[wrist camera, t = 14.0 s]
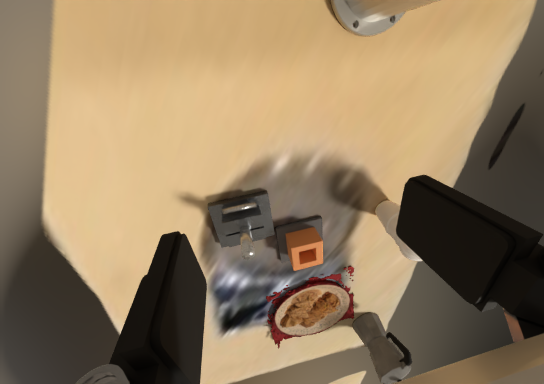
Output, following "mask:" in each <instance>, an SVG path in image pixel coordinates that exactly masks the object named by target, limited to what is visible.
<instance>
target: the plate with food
mask: <svg viewBox="0 0 544 384" xmlns="http://www.w3.org/2000/svg"><path fill="white" fill-rule="evenodd" d="M342 269H343V268H342ZM345 269H346V268H344V270H345ZM350 269H351V271H349V272H348V273H350V274H352V273H353V272H354V268H353V267H348V270H350ZM346 276H347V275H346ZM350 276H353V275H350ZM338 278H339V279H341V274H337V275H333V274H331V275H330V276H328V277H325V278H321V279H320V278H318V277H313V278H309V281H307V282H308V283H307V282H305V283H307V284H305V285H302V286H300V287H298V288H296V289H294V290H291V291H288V293H286V294H285V296H283V298H282V297H281V298H282V299H281V298H277V299H276V300H275V299H274V298H276V297H278V296H279V295H280V294H281V292H282V291H281V292H279V293H277V292H274V293H272V294H276V296H274V297H271V296H269V297H268V296H267V297H266V299H267V301H271V300H272V299H274V300H273V302H271V303H272V304H275V303H276V304H275V305H274V307H273V308H275V306H276V305H277V304H278V303H279V304H278V305H277V309H276V311H275V314H274V313H272V314H271V315H270V314H268V317H269V315H270V317H269V319H271V316H272V319H271V320H272V322H270V321H269V320H268V319H267V320H268V324H271V325H272V326H271V328H272V330H271V332H272V335H273V339H274V342H275V345H276V344H277V343H278V348H279V347H280V345H279V344H280V341H282V340H283V338H284V339H288V338H292V337H301V336H305V335H312V334H316V333H320V332H322V331H324V330H326V329H328V328H330V327H331V326H332V325H334V324H336V323H337V322H339V321H340V320H344V319H347V318H349V319H350V318H352V319H353V318H354V310H353V308H354V307H353V306H354V304H353V296H354V295H353V293H352V294H349V293H348V292H349V290H350V288H347V286H345V287H346V288H343V287H344V285H342V286H343V287H341V286H339V285H338V284H337V283H336V282H332V281H329V280H327V281H326V279H334V280H336V281H337V280H338ZM313 279H314V280H313ZM315 279H316V280H315ZM317 279H318V280H317ZM350 279H351V278H350ZM310 280H311V281H310ZM338 281H339V280H338ZM350 281H351V280H350ZM352 281H353V280H352ZM339 282H340V283H342V281H341V280H340V281H339ZM342 284H343V283H342ZM286 286H288V285H286ZM288 288H290V287H288ZM286 289H287V288H284V289H283V290H286ZM286 291H287V290H286ZM284 293H285V292H284ZM280 299H281V300H280ZM279 301H280V302H279ZM274 310H275V309H274ZM268 312H269V311H268Z"/></svg>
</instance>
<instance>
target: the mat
mask: <svg viewBox="0 0 544 384" xmlns="http://www.w3.org/2000/svg"><path fill="white" fill-rule="evenodd" d="M311 227H315V229H316V230H317V232H318V234H319V236H320V237H321V239H322V241H323V237H322V217H321V216H319V217H315V218H311V219H307V220H303V221H298V222H294V223H290V224H286V225H282V226H277V227H275V228H276V234H277V240H278V246H279V253H280V259H281V263H283V262H286V261H290V259H289V256H288V249H287V242H286V233H291V232H295V231H299V230H303V229H307V228H311Z"/></svg>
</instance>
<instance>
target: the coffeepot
mask: <svg viewBox="0 0 544 384" xmlns="http://www.w3.org/2000/svg"><path fill="white" fill-rule="evenodd" d="M353 329H354V330H355V332H356V333H357V334H358V336H359V337H360V339H361V340H362V341H363V343H364V344H365V346H366V347H368V349H369V351H370V356H371V359H372V361H373V364H374V366H375V369H376V372H377V374H378V377H379V379H380V382H381V383H383V384H390V383H393V382H400V381H402V380H401V379H402V378H403V377H405V376H406V375H407V374H408V373H409V372H410V370H411V366H410V364H411V363H412V359H411V354H410V352H409V350H408V349H407V348H406V347H405V346H404V345H403V344H402V343H401V342H400V341H399V340H397V338H396V337H395V336H394V335H392V333H390V332H389V333H387V334H386V332H385V330H384V327H383V325H382V323H381V321H380V319H379V316H378V315H377V314H375V313H366V314H363V315H361V316H360V317H358V318H357V319H356V320H355V321H354V323H353ZM388 338H391V339H392V341H393V342H394V343H395V344H396V345H397V346H398V347H399V349H400V350H401V351H402V352H403V354H404V357H403V356H402V355H401V353H400V352H399V351H398V350H397V348H396V347H395V346H394V345H393V343H390V342H389V340H388Z"/></svg>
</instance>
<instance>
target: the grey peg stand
mask: <svg viewBox="0 0 544 384" xmlns="http://www.w3.org/2000/svg"><path fill="white" fill-rule="evenodd" d="M208 210H209V212H210V215H211V218H212V221H213V224H214V227H215V230H216V233H217V235H218V238H219V241H220V244H221V247H222V248H223V247H227V246H229V247H232V246H236V245H240V244H241V250H242V257H243V259H245V260H251V259H253V258H254V256H255V252H254V247H253V241H257V240H261V239H265V238H266V237H268V236H272V235H275V233H274V227H273V221H272V215H271V209H270V203H269V197H268V193H267V191H263V192H258V193H254V194H249V195H245V196H240V197H236V198H231V199H227V200H222V201H217V202H213V203H208Z"/></svg>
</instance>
